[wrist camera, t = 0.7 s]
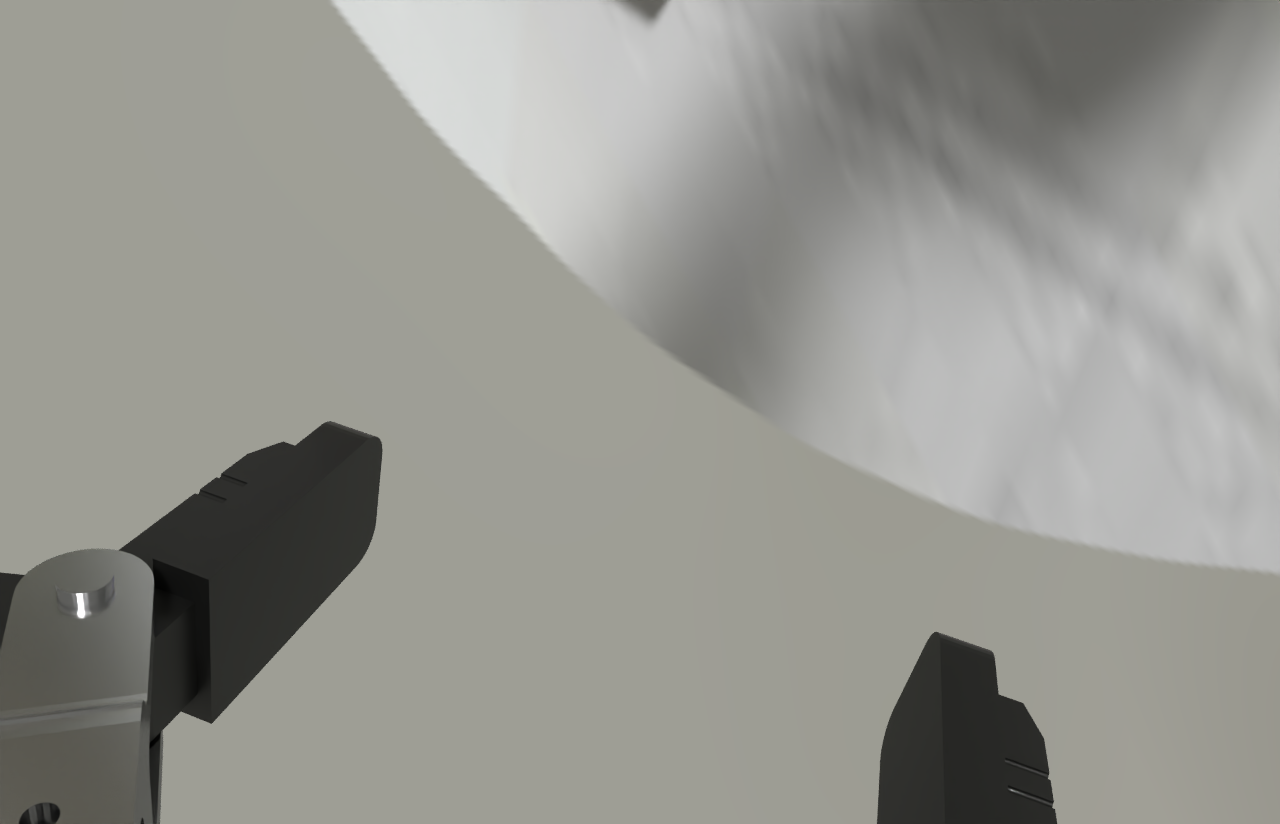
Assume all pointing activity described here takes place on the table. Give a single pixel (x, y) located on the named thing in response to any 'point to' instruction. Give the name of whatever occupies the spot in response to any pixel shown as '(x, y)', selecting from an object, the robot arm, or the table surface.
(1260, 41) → the table surface
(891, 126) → the table surface
